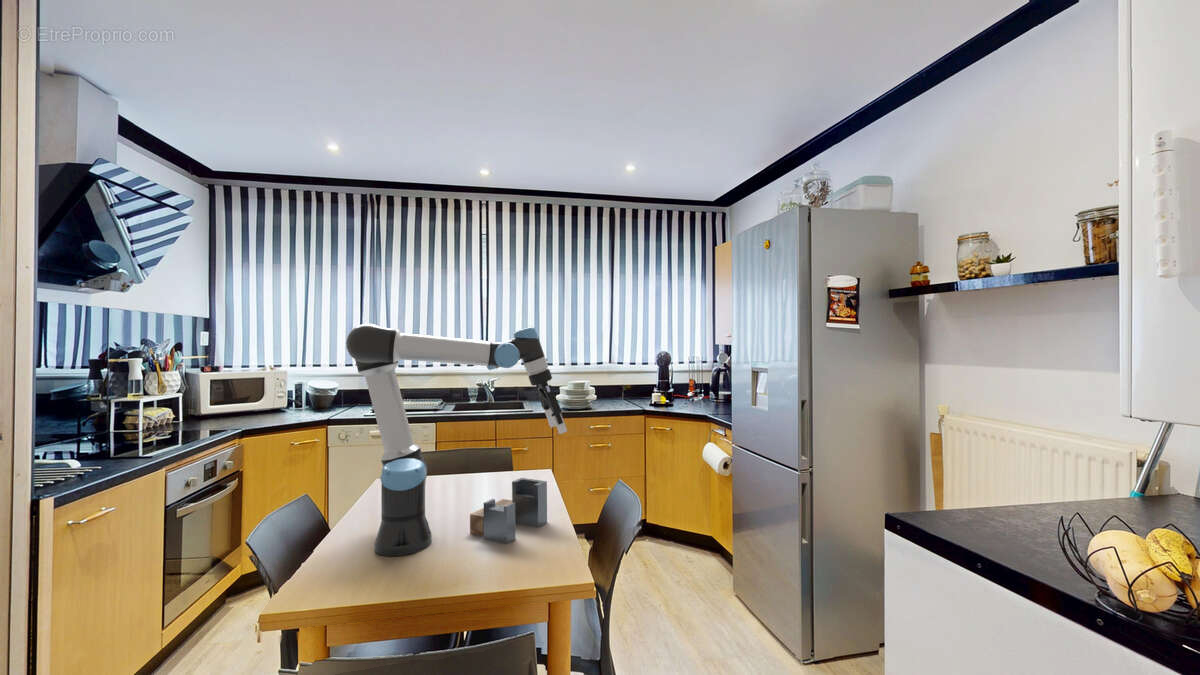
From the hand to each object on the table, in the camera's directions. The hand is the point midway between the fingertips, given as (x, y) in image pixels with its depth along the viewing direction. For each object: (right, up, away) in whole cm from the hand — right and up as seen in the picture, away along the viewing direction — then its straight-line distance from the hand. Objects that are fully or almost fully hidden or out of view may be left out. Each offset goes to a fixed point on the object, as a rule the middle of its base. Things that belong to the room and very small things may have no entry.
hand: (558, 429), depth 167 cm
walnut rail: (-19, -28, -14) cm, 37 cm away
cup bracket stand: (-12, -27, -18) cm, 35 cm away
